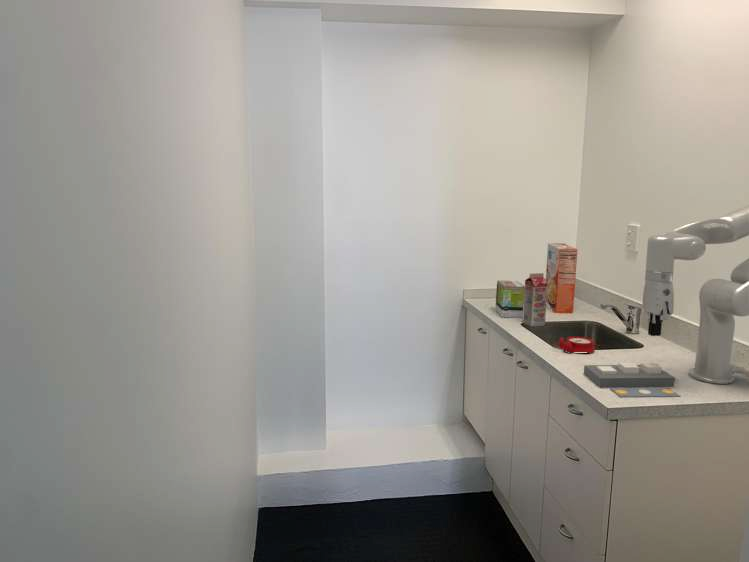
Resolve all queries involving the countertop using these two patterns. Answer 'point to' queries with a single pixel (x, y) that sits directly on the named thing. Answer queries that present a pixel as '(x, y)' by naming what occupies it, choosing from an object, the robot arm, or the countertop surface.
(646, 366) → the key
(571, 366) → the countertop surface
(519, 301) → the tea box
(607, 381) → the button board
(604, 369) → the key
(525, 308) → the juice carton
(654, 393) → the pattern card
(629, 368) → the key middle
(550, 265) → the pasta box
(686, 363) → the countertop surface
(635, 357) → the countertop surface
